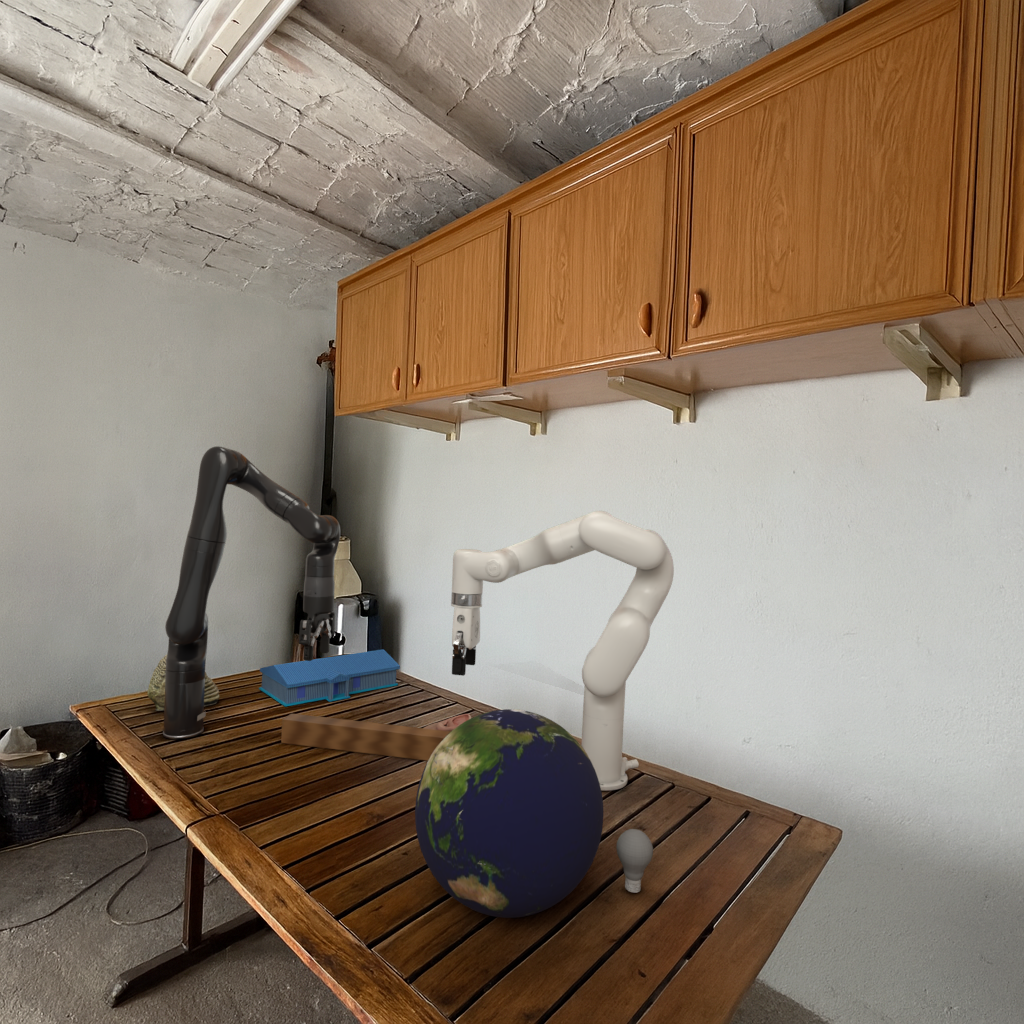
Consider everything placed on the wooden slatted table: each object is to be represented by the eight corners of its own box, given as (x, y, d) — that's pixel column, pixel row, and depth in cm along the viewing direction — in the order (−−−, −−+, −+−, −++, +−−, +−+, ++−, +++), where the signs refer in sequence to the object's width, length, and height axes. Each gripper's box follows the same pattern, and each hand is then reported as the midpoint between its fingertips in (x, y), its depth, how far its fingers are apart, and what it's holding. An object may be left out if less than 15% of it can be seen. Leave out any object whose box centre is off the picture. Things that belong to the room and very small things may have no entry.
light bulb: (610, 879, 108) (613, 822, 108) (644, 879, 109) (647, 822, 109) (619, 902, 102) (622, 840, 102) (655, 901, 103) (658, 840, 103)
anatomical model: (416, 721, 169) (430, 707, 181) (415, 736, 169) (429, 721, 181) (463, 727, 167) (475, 713, 178) (463, 742, 167) (474, 727, 178)
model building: (289, 709, 186) (291, 675, 185) (258, 688, 204) (259, 657, 204) (403, 687, 212) (405, 657, 212) (366, 670, 230) (368, 643, 230)
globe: (373, 928, 94) (381, 727, 93) (463, 833, 121) (470, 677, 121) (566, 996, 82) (577, 768, 82) (617, 874, 110) (625, 703, 109)
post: (281, 742, 161) (281, 719, 161) (290, 736, 166) (291, 713, 166) (488, 768, 152) (489, 743, 151) (492, 760, 156) (493, 736, 156)
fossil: (144, 707, 182) (145, 655, 182) (212, 696, 194) (213, 647, 194) (151, 716, 175) (153, 662, 175) (221, 703, 188) (223, 653, 188)
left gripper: (319, 598, 154) (316, 664, 154) (345, 590, 168) (342, 651, 168) (290, 596, 155) (288, 661, 156) (318, 588, 169) (316, 649, 170)
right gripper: (473, 606, 145) (469, 680, 146) (489, 596, 162) (486, 662, 163) (441, 604, 147) (438, 677, 147) (461, 593, 164) (458, 659, 164)
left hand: (316, 656), depth 162 cm, fingers open, 8 cm apart
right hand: (463, 669), depth 155 cm, fingers open, 9 cm apart
